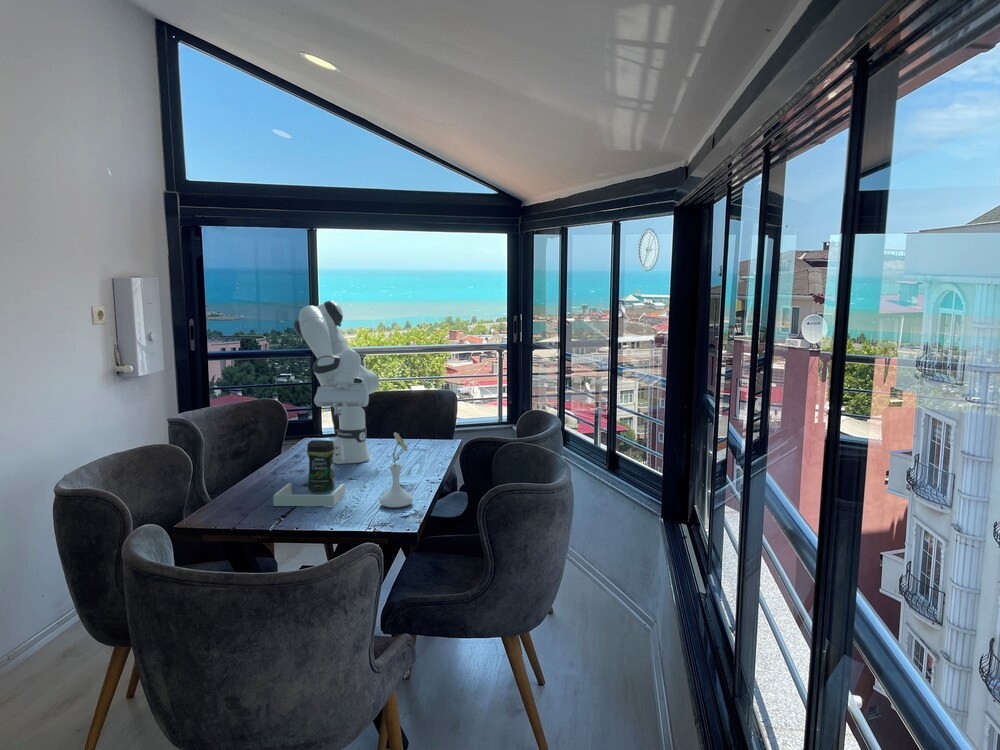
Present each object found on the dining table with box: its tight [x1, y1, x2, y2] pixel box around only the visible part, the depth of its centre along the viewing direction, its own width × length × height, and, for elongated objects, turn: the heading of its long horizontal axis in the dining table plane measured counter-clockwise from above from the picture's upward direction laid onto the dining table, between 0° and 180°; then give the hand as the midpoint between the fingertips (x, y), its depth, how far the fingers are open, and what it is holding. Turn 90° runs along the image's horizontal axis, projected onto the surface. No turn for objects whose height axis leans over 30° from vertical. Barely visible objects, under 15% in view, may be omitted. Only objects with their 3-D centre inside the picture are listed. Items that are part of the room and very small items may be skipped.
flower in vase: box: [379, 431, 414, 509], centre depth 223 cm, size 13×11×25 cm
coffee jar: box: [306, 439, 336, 492], centre depth 242 cm, size 10×8×19 cm
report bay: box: [272, 482, 346, 508], centre depth 229 cm, size 14×20×4 cm
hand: (338, 414), depth 244 cm, fingers closed
